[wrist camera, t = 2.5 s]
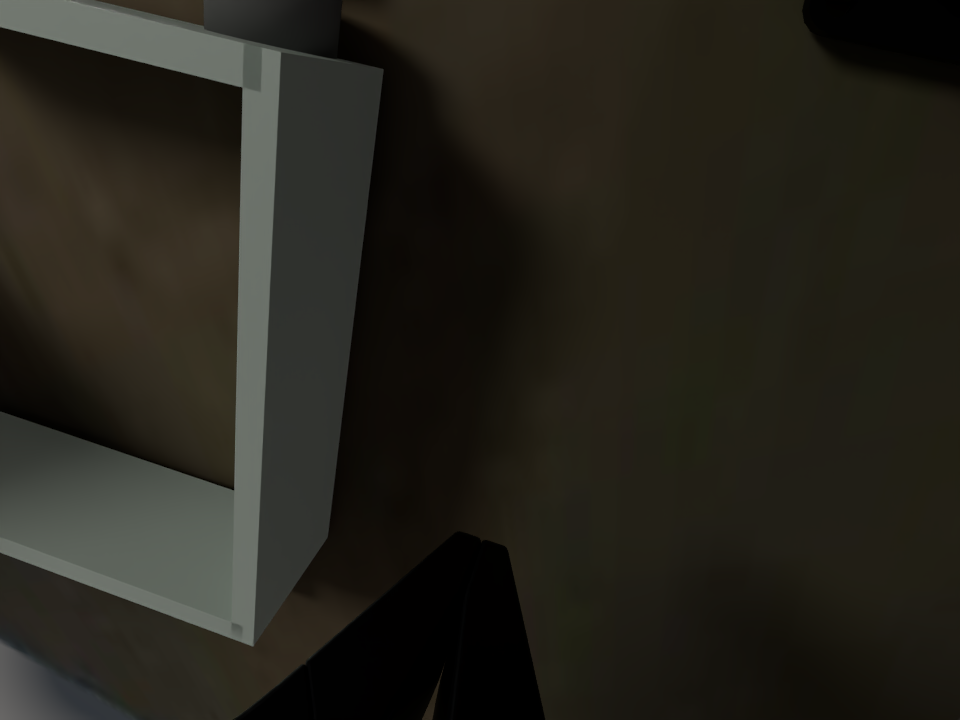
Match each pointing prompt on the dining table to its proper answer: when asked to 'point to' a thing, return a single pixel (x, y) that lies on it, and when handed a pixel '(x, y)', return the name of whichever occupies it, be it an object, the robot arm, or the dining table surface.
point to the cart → (261, 330)
